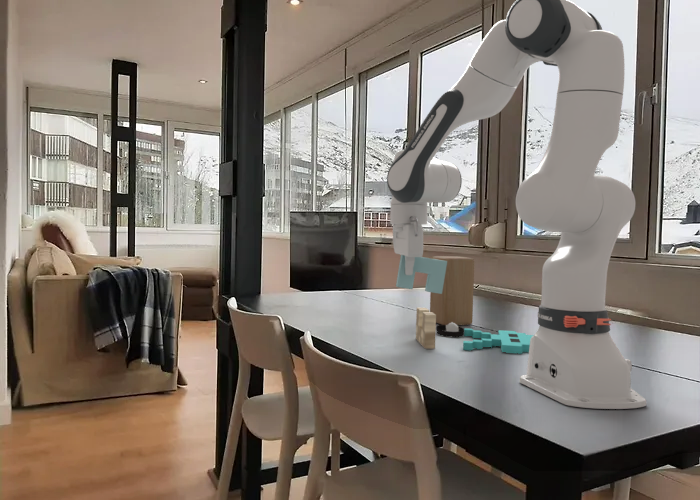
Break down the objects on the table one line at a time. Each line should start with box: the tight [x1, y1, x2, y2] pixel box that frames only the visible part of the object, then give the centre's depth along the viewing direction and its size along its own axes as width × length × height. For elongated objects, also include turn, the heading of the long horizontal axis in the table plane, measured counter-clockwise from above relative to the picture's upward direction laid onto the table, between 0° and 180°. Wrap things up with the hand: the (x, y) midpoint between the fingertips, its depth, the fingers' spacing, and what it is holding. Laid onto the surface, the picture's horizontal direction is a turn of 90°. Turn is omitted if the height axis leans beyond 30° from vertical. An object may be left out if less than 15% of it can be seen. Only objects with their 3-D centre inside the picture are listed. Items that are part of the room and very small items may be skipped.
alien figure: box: [462, 327, 535, 355], centre depth 143 cm, size 20×2×20 cm
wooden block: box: [429, 255, 475, 326], centre depth 173 cm, size 10×10×20 cm
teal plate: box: [395, 255, 447, 294], centre depth 139 cm, size 2×11×8 cm, turn 95°
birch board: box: [415, 307, 437, 350], centre depth 141 cm, size 12×2×8 cm, turn 4°
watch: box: [436, 322, 465, 338], centre depth 153 cm, size 8×5×4 cm, turn 57°
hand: (407, 274), depth 139 cm, fingers closed on teal plate, 2 cm apart
